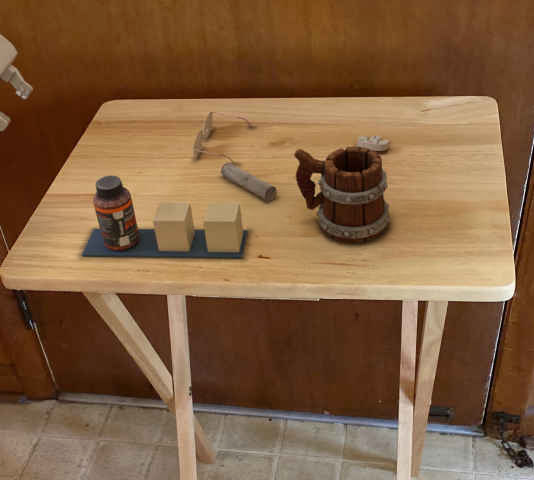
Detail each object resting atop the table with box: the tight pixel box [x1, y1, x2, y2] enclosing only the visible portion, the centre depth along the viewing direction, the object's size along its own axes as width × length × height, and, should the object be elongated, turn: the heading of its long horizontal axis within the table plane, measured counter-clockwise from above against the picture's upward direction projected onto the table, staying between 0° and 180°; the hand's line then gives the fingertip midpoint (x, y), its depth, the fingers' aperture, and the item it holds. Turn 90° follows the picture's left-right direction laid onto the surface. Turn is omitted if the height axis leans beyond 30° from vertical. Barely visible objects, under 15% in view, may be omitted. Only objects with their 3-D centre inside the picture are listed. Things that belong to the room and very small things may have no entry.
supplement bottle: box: [92, 175, 139, 250], centre depth 129 cm, size 6×6×11 cm
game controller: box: [357, 134, 390, 152], centre depth 145 cm, size 6×12×3 cm, turn 173°
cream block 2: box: [202, 202, 244, 252], centre depth 128 cm, size 5×5×6 cm
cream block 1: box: [152, 201, 196, 252], centre depth 129 cm, size 5×5×6 cm
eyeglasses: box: [192, 110, 253, 165], centre depth 152 cm, size 14×8×4 cm, turn 167°
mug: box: [293, 146, 390, 244], centre depth 128 cm, size 12×14×15 cm
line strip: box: [81, 228, 249, 260], centre depth 132 cm, size 26×7×1 cm, turn 83°
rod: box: [220, 162, 278, 202], centre depth 141 cm, size 12×3×3 cm, turn 43°
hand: (18, 109), depth 119 cm, fingers open, 8 cm apart
